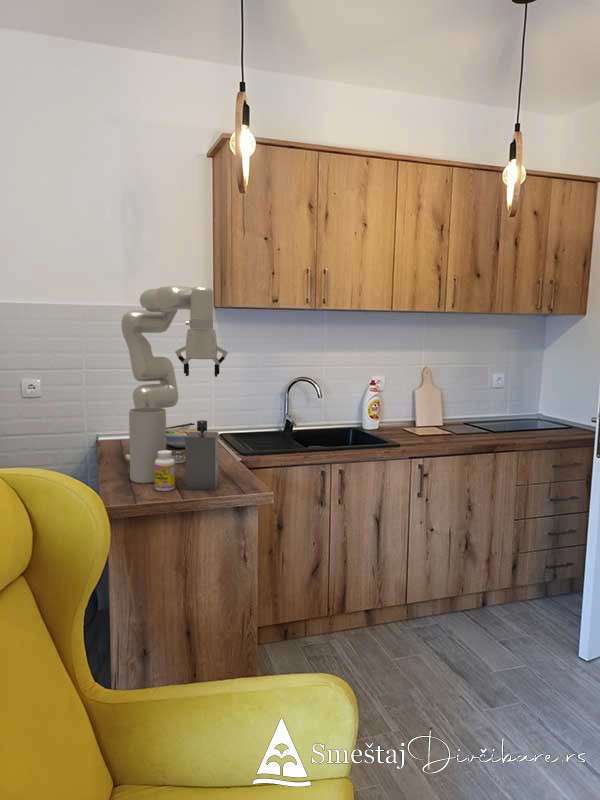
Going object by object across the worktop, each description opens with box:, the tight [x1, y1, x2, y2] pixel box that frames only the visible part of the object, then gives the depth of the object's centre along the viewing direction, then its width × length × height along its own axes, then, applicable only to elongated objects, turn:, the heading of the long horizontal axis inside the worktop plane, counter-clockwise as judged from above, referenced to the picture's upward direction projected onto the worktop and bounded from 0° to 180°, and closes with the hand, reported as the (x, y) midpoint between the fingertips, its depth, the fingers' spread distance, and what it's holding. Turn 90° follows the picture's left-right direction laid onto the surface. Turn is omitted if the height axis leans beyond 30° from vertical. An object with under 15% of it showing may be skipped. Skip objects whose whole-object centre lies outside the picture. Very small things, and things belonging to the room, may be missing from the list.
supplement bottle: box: [154, 449, 176, 492], centre depth 201 cm, size 7×7×13 cm
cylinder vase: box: [128, 407, 167, 484], centre depth 212 cm, size 12×12×25 cm
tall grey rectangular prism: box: [184, 431, 219, 491], centre depth 207 cm, size 10×13×18 cm
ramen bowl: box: [166, 422, 208, 449], centre depth 270 cm, size 25×23×8 cm
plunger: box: [196, 419, 208, 435], centre depth 205 cm, size 7×7×21 cm
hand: (201, 376), depth 202 cm, fingers open, 9 cm apart
